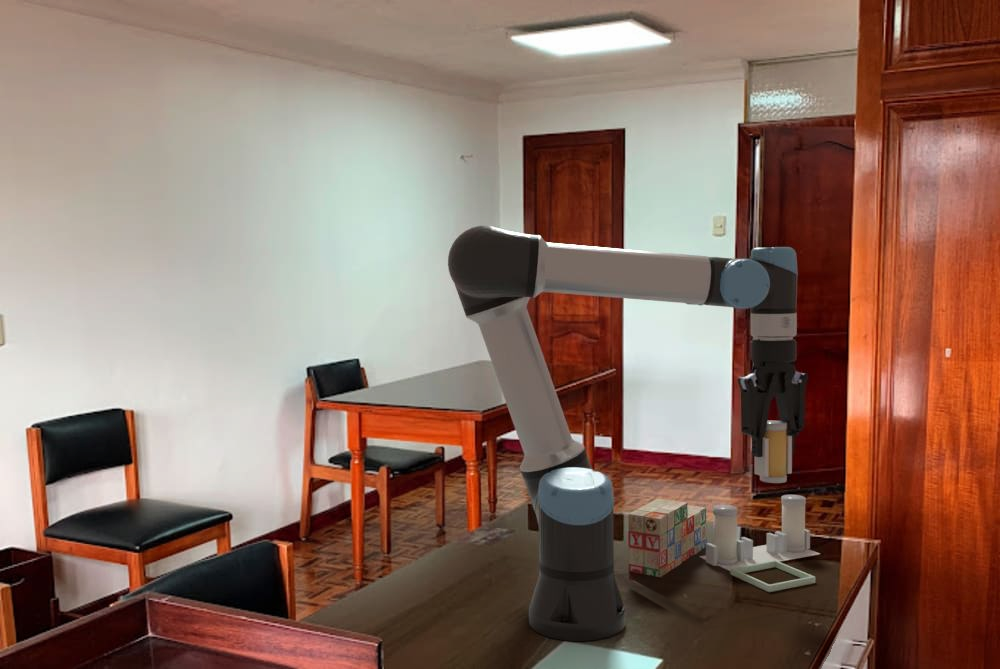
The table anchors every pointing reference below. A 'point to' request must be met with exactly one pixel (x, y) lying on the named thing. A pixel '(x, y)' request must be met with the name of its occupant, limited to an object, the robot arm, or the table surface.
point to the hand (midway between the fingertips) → (773, 473)
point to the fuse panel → (760, 551)
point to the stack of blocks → (664, 536)
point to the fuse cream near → (725, 533)
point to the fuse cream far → (794, 522)
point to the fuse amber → (776, 451)
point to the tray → (804, 580)
